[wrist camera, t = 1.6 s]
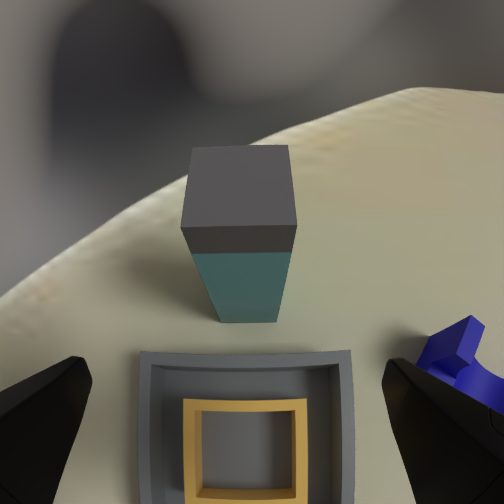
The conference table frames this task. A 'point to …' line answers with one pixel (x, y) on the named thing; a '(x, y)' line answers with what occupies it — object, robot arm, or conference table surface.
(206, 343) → the conference table surface
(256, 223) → the plug
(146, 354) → the socket box
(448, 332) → the cable clip
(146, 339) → the conference table surface
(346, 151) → the conference table surface
